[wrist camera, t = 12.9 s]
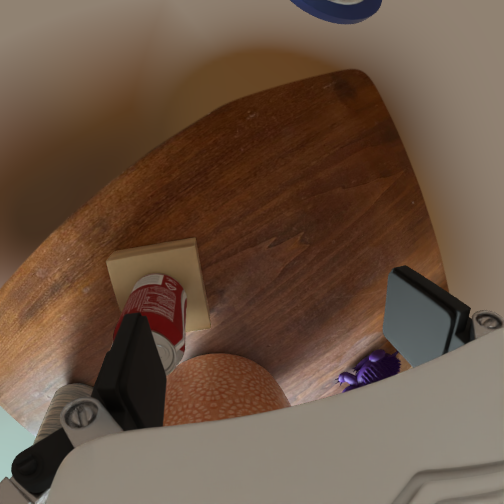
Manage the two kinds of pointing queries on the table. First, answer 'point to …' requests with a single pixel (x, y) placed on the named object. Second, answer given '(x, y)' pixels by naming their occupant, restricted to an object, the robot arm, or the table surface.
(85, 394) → the vase
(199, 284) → the oak block
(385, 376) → the creature
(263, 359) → the table surface
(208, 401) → the planter
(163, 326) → the soda can
